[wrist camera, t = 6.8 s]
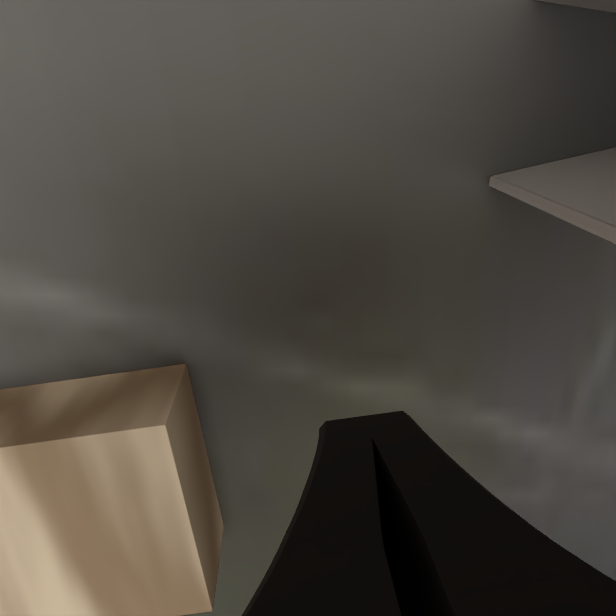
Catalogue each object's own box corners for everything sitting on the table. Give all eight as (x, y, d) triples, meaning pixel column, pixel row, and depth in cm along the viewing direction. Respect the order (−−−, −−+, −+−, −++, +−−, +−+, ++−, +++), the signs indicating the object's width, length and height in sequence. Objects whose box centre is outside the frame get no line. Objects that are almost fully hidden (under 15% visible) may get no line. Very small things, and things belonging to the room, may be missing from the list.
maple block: (165, 424, 16) (-188, 473, 16) (212, 611, 19) (-94, 652, 19) (186, 362, 20) (-101, 402, 20) (224, 524, 23) (-32, 559, 23)
